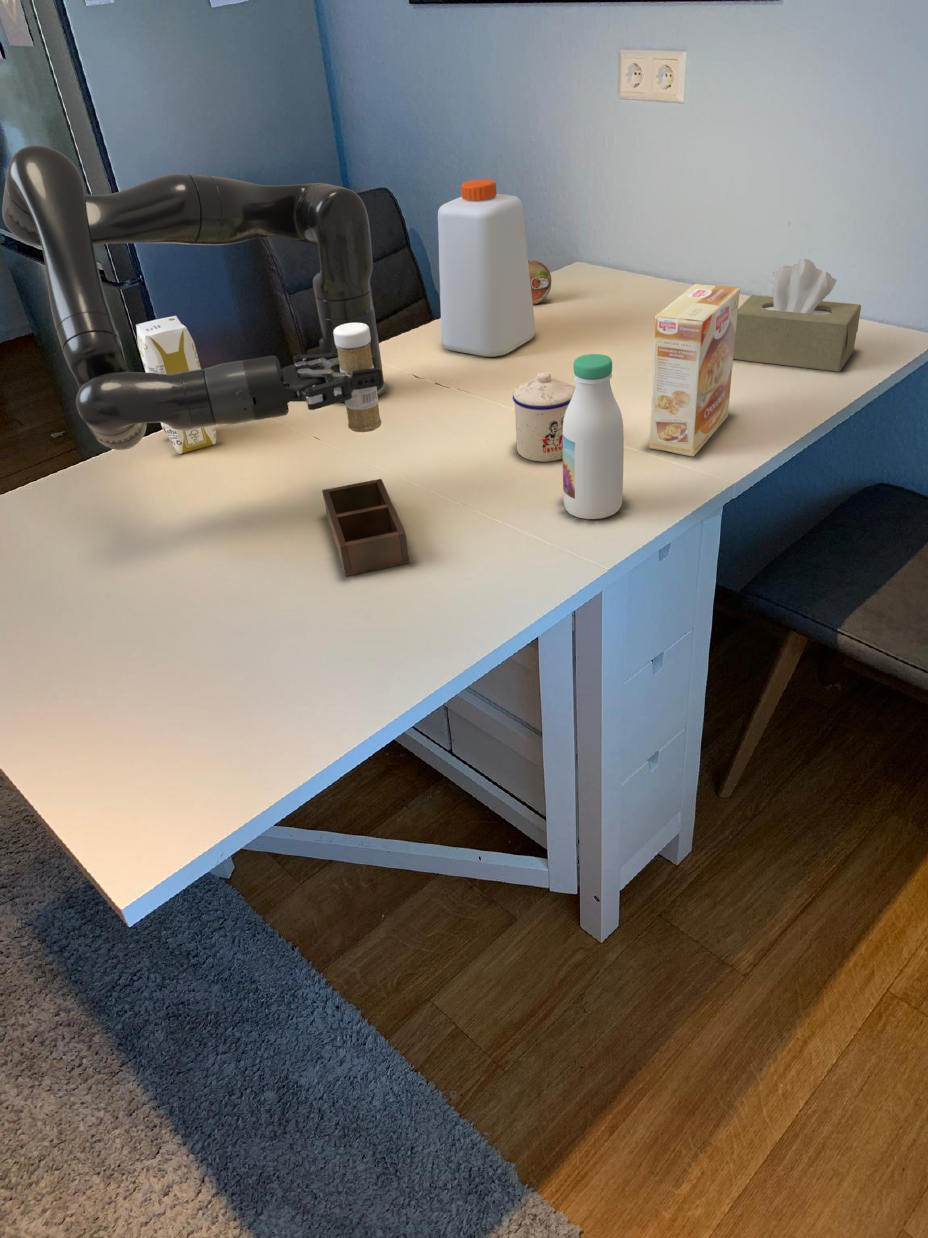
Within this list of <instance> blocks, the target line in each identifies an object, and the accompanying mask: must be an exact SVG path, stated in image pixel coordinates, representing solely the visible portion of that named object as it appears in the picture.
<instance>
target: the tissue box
mask: <svg viewBox="0 0 928 1238" xmlns="http://www.w3.org/2000/svg"><path fill="white" fill-rule="evenodd" d="M772 277H773V278H772V288H771V293H772V296H768V295H756V294H751V295H750V296H749V297H748V298H747V299H746V300H745V302H743V303H742V304H741V305H740V307H738V314H737V324H736V334H735V344H734V354H733V360H735V361H736V360H737V361H744V362H754V363H761V364H769V365H778V366H787V367H795V368H801V369H802V368H803V369H812V370H819V371H827V372H828V371H829V372H836V373H839V372H841V371H842V369H843V367H844V366H845V365H846V363H847V362H848V360H849V358H850V357H851V355H852V354H853V352H854V350H855V344H856V339H857V333H858V331H859V324H860V317H861V309H862V305H861V304H858V303H850V302H849V303H846V302H835V301H824V300H825V298H827V297H828V296H829V295H830V294H831V292H832V291H833V289H834V288H835V285H836V284H837V282H838V279H836V278H834V277H833V276H832V274H831V273H829V272H828V271H827V270H822V269H819V268H817V267H816V265H815V263H814V262H813V261H811V259H808V258H801V259H799V261H798V262H797V263H795V264H793V265H782V266H779V267H778V269H777V270H775V271H772Z"/></svg>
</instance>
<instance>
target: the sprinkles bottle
mask: <svg viewBox="0 0 928 1238" xmlns="http://www.w3.org/2000/svg"><path fill="white" fill-rule="evenodd" d="M333 333H334V341H335V345H336V348H337V350H338V357H339V364H340V373H341V372H351V373H352V371H358V370H364V369H370V368H374V365H373V362H372V354H371V348H370V344H371V342H370V341H371V337H370V330H369V327H368V325H366V324H363V323H347V324H343V325H340V326H338V327H336V328H335V329H334V332H333ZM344 405H345V408H346V409H345V410H346V414H347V415H346V416H347V420H348V421H347V422H348V423H347V427H348V430H351V431H353V432H355V433H370V432H373V431H375V430H378V428H380V427H381V426H382V419H381V417H380V415H381V414H380V407H379V397H378V395H377V387H370V388H364V389H358V390H355V392H354V393H352V398H351V399H349V400H346V401H345V402H344Z"/></svg>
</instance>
